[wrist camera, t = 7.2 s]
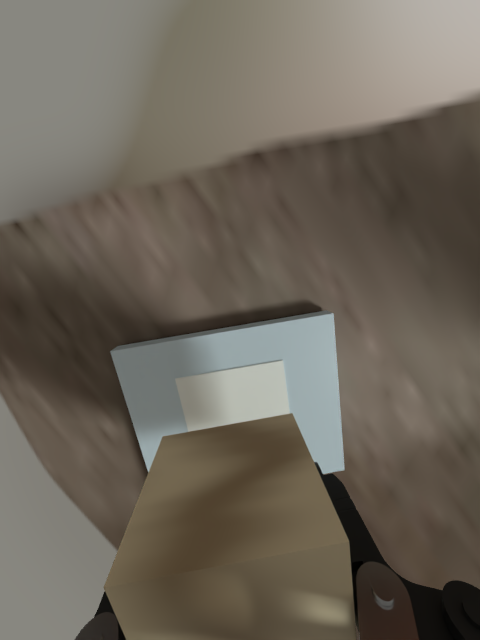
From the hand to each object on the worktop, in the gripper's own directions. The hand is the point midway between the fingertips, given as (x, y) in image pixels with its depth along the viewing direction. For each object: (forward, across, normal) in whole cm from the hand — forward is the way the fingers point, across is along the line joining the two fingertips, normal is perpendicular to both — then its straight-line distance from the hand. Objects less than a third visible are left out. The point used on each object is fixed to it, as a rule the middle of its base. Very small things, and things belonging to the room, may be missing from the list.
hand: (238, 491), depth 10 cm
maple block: (+1, 0, 0) cm, 1 cm away
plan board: (+6, 0, 0) cm, 6 cm away
